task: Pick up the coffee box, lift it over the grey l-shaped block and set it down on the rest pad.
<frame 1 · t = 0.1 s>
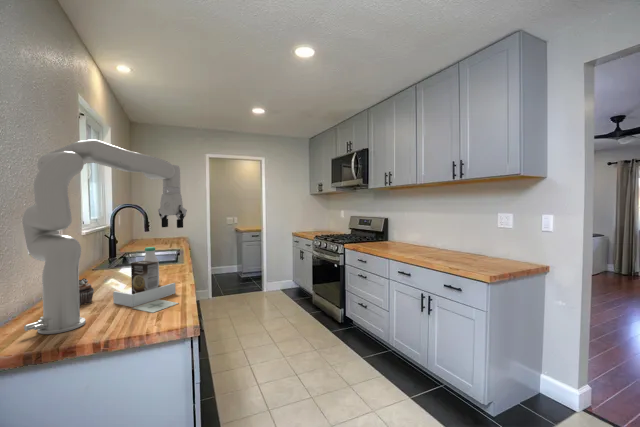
hand: (172, 227, 145), 31 cm above the worktop, fingers open, 9 cm apart
milk bottle: (150, 286, 157), on the worktop
grey l-shaped block: (155, 299, 135), on the worktop
cupcake: (80, 302, 131), on the worktop
rest pad: (156, 306, 126), on the worktop
coffee box: (145, 298, 138), on the worktop
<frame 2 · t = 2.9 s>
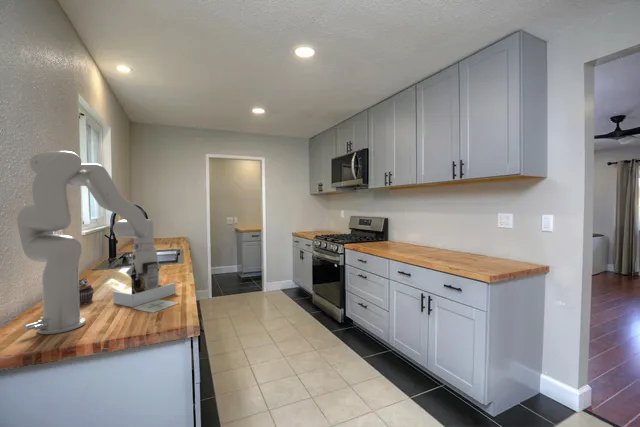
hand: (144, 285, 138), 5 cm above the worktop, fingers closed on coffee box, 6 cm apart
coffee box: (145, 297, 138), on the worktop, touching gripper
everything else where it was.
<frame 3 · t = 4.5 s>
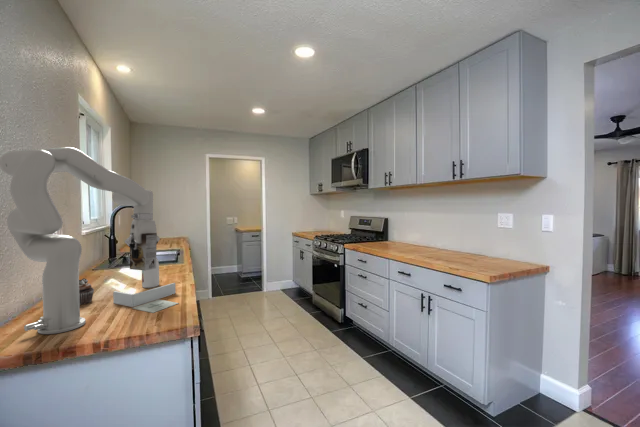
hand: (143, 256, 136), 18 cm above the worktop, fingers closed on coffee box, 6 cm apart
coffee box: (143, 269, 136), point 13 cm above the worktop, touching gripper
everything else where it was.
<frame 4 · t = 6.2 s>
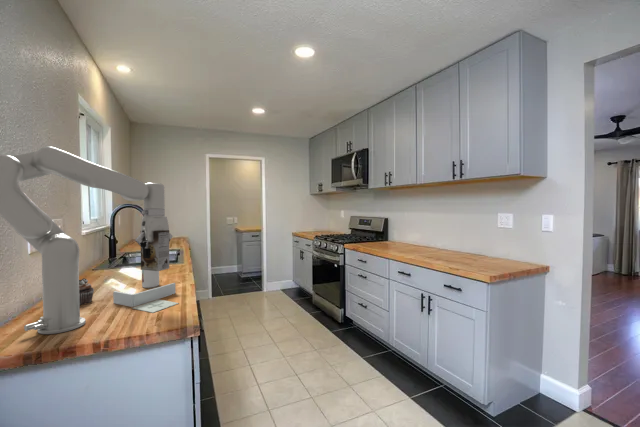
hand: (155, 256, 125), 21 cm above the worktop, fingers closed on coffee box, 6 cm apart
coffee box: (155, 269, 125), point 15 cm above the worktop, touching gripper
everything else where it was.
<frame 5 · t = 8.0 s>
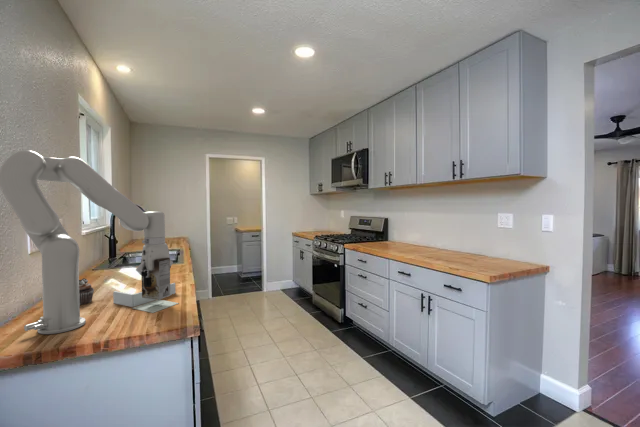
hand: (156, 284, 126), 9 cm above the worktop, fingers closed on coffee box, 6 cm apart
coffee box: (156, 297, 126), point 4 cm above the worktop, touching gripper
everything else where it was.
when the fingers open (7 cm above the worktop, at t = 9.6 s): coffee box stays where it is, resting on rest pad.
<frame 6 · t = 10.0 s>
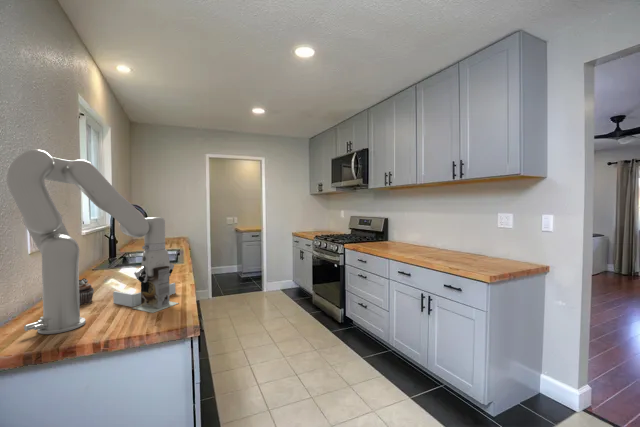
hand: (155, 288, 126), 7 cm above the worktop, fingers open, 9 cm apart
coffee box: (155, 305, 126), resting on rest pad
everything else where it was.
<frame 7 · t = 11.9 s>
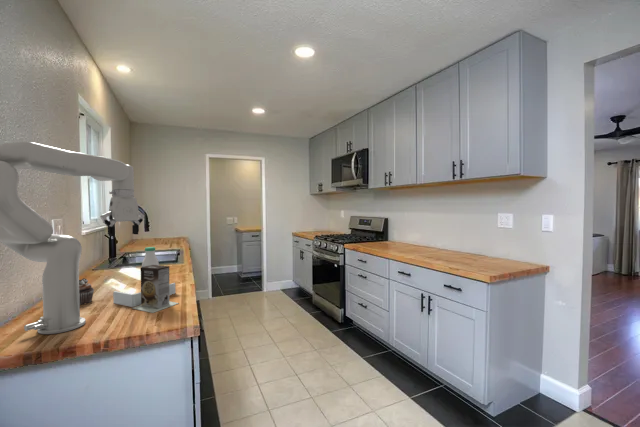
hand: (123, 235, 128), 29 cm above the worktop, fingers open, 9 cm apart
nothing on the worktop moved.
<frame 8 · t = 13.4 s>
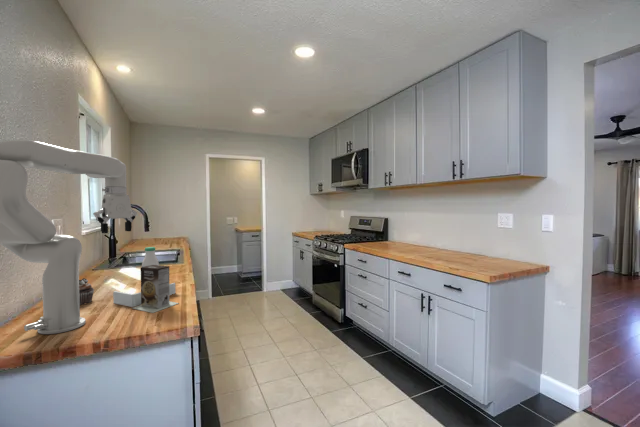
hand: (116, 232, 129), 30 cm above the worktop, fingers open, 9 cm apart
nothing on the worktop moved.
at the end: coffee box inside the target area on the rest pad (0.2 cm from its centre), point 0.2 cm above the rest pad's base; coffee box tilted 0°; the gripper is holding nothing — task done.
